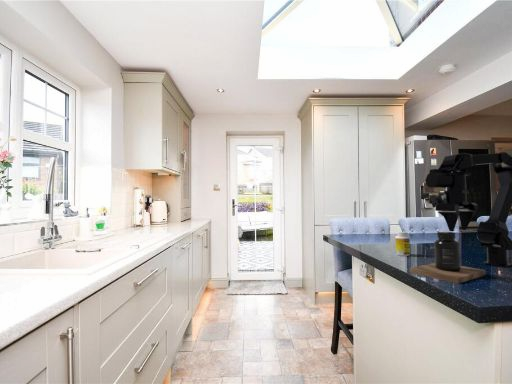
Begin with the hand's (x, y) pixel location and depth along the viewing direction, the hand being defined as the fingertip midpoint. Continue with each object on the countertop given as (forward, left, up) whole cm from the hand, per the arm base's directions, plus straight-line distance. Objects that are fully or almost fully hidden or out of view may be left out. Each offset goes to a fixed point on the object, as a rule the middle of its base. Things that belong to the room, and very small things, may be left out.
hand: (457, 230), depth 99 cm
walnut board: (+15, +3, -13) cm, 20 cm away
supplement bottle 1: (-3, -23, -13) cm, 27 cm away
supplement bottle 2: (+15, +3, -12) cm, 19 cm away
